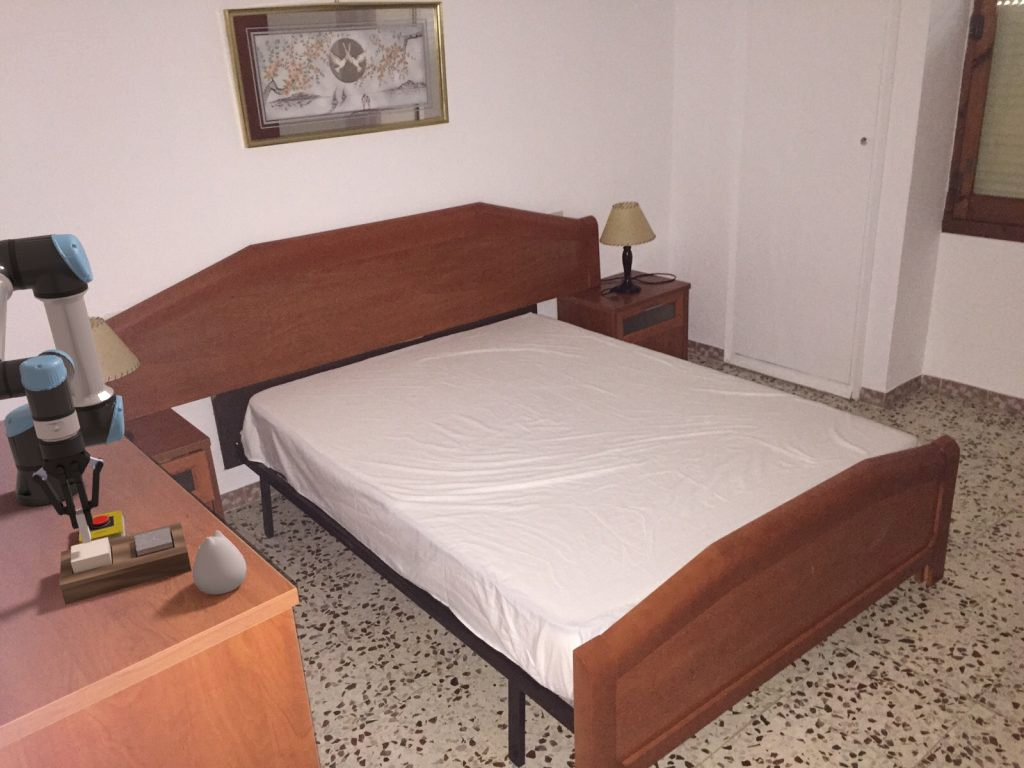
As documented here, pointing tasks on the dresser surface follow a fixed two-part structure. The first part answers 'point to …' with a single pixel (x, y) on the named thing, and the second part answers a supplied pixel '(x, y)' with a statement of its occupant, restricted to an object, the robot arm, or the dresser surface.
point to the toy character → (218, 565)
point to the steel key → (153, 542)
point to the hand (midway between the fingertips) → (87, 539)
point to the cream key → (91, 555)
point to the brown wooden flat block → (124, 567)
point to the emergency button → (107, 526)
